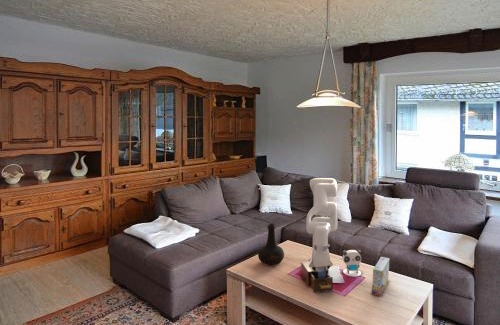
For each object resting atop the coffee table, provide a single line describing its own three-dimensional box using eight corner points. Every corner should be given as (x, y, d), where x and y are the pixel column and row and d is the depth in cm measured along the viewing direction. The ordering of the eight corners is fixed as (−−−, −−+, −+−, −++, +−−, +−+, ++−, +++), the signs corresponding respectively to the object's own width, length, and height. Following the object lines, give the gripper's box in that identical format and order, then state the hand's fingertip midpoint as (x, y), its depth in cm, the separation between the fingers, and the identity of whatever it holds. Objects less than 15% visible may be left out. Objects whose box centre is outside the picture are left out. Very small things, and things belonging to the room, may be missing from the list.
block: (323, 275, 207) (323, 267, 206) (325, 278, 203) (325, 271, 202) (315, 275, 206) (315, 268, 206) (318, 279, 202) (318, 272, 201)
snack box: (381, 296, 196) (382, 271, 194) (371, 294, 199) (372, 269, 197) (389, 281, 213) (389, 257, 211) (379, 278, 216) (380, 255, 214)
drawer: (335, 294, 197) (335, 281, 196) (316, 296, 196) (316, 283, 195) (324, 279, 215) (324, 267, 214) (306, 281, 214) (306, 269, 212)
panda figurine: (344, 276, 220) (344, 254, 218) (340, 268, 231) (340, 247, 229) (363, 276, 220) (364, 253, 218) (358, 268, 231) (358, 247, 229)
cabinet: (328, 285, 210) (328, 270, 209) (308, 287, 208) (308, 271, 207) (320, 274, 224) (320, 260, 223) (301, 275, 223) (301, 261, 221)
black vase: (253, 263, 242) (252, 225, 238) (269, 255, 255) (268, 218, 251) (273, 271, 230) (272, 230, 226) (289, 262, 243) (288, 223, 239)
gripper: (332, 243, 207) (332, 272, 209) (304, 245, 204) (304, 275, 207) (337, 248, 199) (336, 278, 202) (308, 250, 197) (308, 281, 200)
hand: (320, 276), depth 204 cm, fingers closed on block, 4 cm apart
